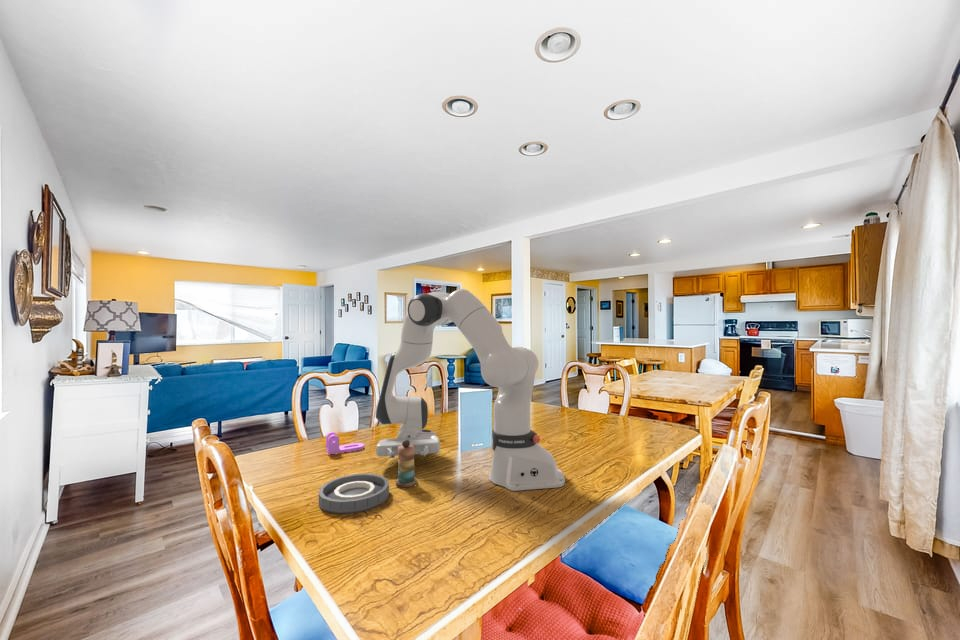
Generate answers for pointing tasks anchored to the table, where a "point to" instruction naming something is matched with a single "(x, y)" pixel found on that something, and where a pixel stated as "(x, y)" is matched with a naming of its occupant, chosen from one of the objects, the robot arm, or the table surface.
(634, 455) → the table surface
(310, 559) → the table surface
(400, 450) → the bead stack
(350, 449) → the bracket
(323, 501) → the tray
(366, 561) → the table surface
